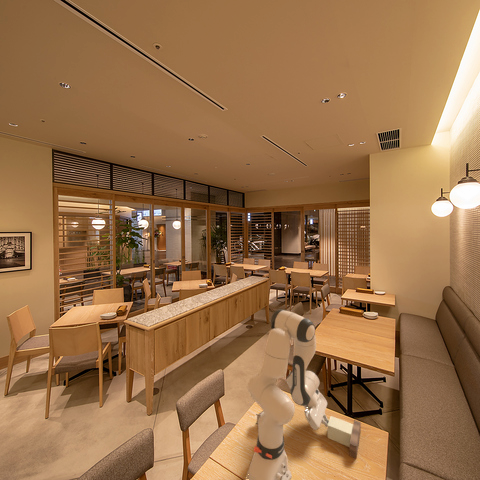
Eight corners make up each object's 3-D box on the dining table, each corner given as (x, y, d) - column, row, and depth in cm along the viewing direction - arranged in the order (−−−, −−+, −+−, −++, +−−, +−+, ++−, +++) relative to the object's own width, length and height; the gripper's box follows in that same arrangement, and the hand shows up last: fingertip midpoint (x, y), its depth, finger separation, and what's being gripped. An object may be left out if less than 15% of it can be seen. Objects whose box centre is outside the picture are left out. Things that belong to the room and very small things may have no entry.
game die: (262, 430, 136) (262, 408, 142) (274, 432, 131) (274, 409, 137) (251, 430, 131) (252, 407, 137) (264, 432, 126) (264, 409, 131)
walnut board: (356, 458, 115) (356, 446, 114) (349, 455, 116) (349, 443, 116) (360, 432, 128) (360, 422, 128) (354, 430, 130) (354, 419, 129)
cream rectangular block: (351, 447, 120) (351, 434, 120) (327, 437, 126) (327, 425, 125) (353, 436, 126) (353, 424, 125) (330, 428, 132) (330, 415, 131)
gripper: (308, 410, 123) (328, 437, 119) (318, 386, 140) (336, 409, 136) (299, 415, 126) (318, 442, 122) (310, 391, 143) (327, 413, 139)
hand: (327, 424), depth 129 cm, fingers closed, pressing on cream rectangular block
